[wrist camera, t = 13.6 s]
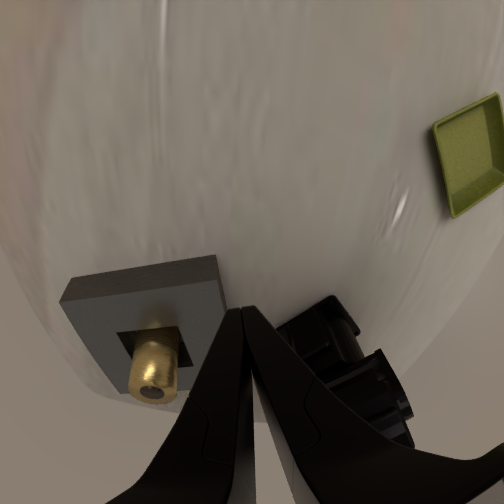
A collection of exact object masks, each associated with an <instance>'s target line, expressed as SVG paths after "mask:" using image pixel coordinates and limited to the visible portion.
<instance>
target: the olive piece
mask: <svg viewBox="0 0 504 504" xmlns="http://www.w3.org/2000/svg"><path fill="white" fill-rule="evenodd" d="M432 131H433V135H434V139H435V142H436V146H437V150H438V155H439V159H440V163H441V168H442V173H443V178H444V183H445V189H446V194H447V201H448V206H449V210H450V214H451V217H452V218H456V217H458V216H460V215H461V214H463V213H465V212H466V211H467V210H469V209H470V208H471V207H473V206H474V205H476V204H477V203H478V202H480V201H481V200H483V199H484V198H486V197H487V196H488V195H490V194H491V193H493V192H494V191H496V190H497V189H498V188H500V187H501V186H502V185H504V115H503V109H502V104H501V99H500V95H499V94H498V93H497V92H495V93H493V94H491V95H489V96H487V97H485V98H483V99H481V100H479V101H477V102H475V103H473V104H471V105H469V106H467V107H465V108H463V109H461V110H459V111H457V112H455V113H453V114H451V115H449V116H447V117H445V118H443V119H441V120H439V121H437V122H435V123H434V124H433V126H432Z"/></svg>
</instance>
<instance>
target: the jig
mask: <svg viewBox="0 0 504 504" xmlns="http://www.w3.org/2000/svg"><path fill="white" fill-rule="evenodd" d="M59 303H60V305H61V307H62V309H63V310H64V312H65V314H66V315H67V317H68V319H69V320H70V322H71V324H72V325H73V327H74V329H75V330H76V332H77V333H78V335H79V337H80V338H81V340H82V341H83V343H84V344H85V346H86V347H87V349H88V350H89V352H90V353H91V355H92V356H93V358H94V359H95V361H96V362H97V363H98V365H99V366H100V368H101V369H102V370H103V372H104V373H105V375H106V376H107V377H108V379H109V380H110V381H111V383H112V384H113V385H114V387H115V388H116V389H117V390H118V392H119V393H120V394H123V393H129V391H128V384H129V377H130V371H131V365H132V359H133V354H134V348H135V343H136V337H137V334H136V332H135V330H143V329H152V328H161V327H169V326H177V325H178V327H179V330H180V333H181V335H182V338H183V340H184V341H183V342H179V347H178V368H177V391H179V390H190V389H191V388H192V386H193V384H194V382H195V379H196V377H197V375H198V373H199V370H200V368H201V366H202V364H203V362H204V359H205V357H206V355H207V353H208V350H209V348H210V346H211V344H212V341H213V339H214V337H215V335H216V332H217V330H218V328H219V326H220V324H221V321H222V319H223V317H224V315H225V312H226V311H227V306H226V302H225V297H224V293H223V288H222V283H221V279H220V274H219V269H218V264H217V260H216V255H210V256H204V257H198V258H191V259H185V260H179V261H173V262H167V263H161V264H154V265H148V266H142V267H136V268H130V269H124V270H118V271H111V272H105V273H99V274H93V275H87V276H81V277H75V278H71V280H70V282H69V284H68V285H67V287H66V289H65V291H64V293H63V295H62V297H61V299H60V301H59Z"/></svg>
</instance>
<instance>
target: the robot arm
mask: <svg viewBox="0 0 504 504" xmlns="http://www.w3.org/2000/svg"><path fill="white" fill-rule="evenodd" d="M331 301H332V302H331ZM359 334H360V329H359V327H358V326H357V325H356V323H355V322H354V321H353V319H352V318H351V316H350V315H349V314H348V312H347V311H346V310H345V308H344V307H343V305H342V304H341V303H340V301H339V300H338V299H337V297H336V296H334V295H331V296H329V297H327V298H326V299H324V300H322V301H321V302H319V303H318V304H316V305H314V306H313V307H311V308H310V309H308V310H306V311H305V312H303V313H302V314H300V315H298V316H297V317H295V318H293V319H292V320H290V321H288V322H287V323H285V324H283V325H282V326H280V327H278V328H277V329H275V328H274V327H273V326H272V325H271V324H270V322H269V321H268V320H267V319H266V318H265V317H264V316H263V314H262V313H261V312H260V311H259V310H258V309H257V307H256V306H254V305H251V306H245V307H242V308H241V309H240V308H233V309H228V310H227V311H226V312H225V315H224V317H223V319H222V321H221V324H220V326H219V328H218V330H217V332H216V335H215V337H214V339H213V341H212V344H211V346H210V348H209V350H208V353H207V355H206V357H205V359H204V362H203V364H202V366H201V368H200V370H199V373H198V375H197V377H196V379H195V382H194V384H193V386H192V388H191V391H190V393H189V395H188V396H189V397H187V399H186V402H185V404H184V406H183V408H182V410H181V412H180V414H179V416H178V418H177V420H176V423H175V424H174V426H173V428H172V429H171V431H170V433H169V434H168V436H167V438H166V440H165V441H164V443H163V444H162V446H161V447H160V449H159V450H158V452H157V454H156V455H155V457H154V458H153V460H152V461H151V463H150V465H149V466H148V468H147V469H146V471H145V472H144V474H143V475H142V476H141V478H140V479H139V480H138V481H137V482H136V483H135V484H134V485H133V486H131V487H130V488H129V489H128V490H126V491H124V492H123V493H121V494H120V495H118V496H117V497H115V498H113V499H112V500H110V501H109V502H107V503H106V504H256V487H255V455H254V454H255V452H254V420H253V386H252V375H253V379H254V382H255V385H256V389H257V392H258V395H259V398H260V401H261V404H262V407H263V410H264V413H265V416H266V419H267V423H268V425H269V428H270V432H271V435H272V437H273V440H274V443H275V446H276V449H277V452H278V455H279V458H280V461H281V464H282V467H283V470H284V472H285V475H286V478H287V481H288V484H289V486H290V489H291V492H292V494H293V498H294V500H295V503H296V504H504V443H501V444H500V445H498V446H497V447H495V448H494V449H492V450H491V451H489V452H488V453H486V454H485V455H483V456H482V457H480V458H476V459H472V460H459V459H453V458H449V457H444V456H440V455H436V454H432V453H428V452H424V451H420V450H417V449H415V445H414V441H413V439H412V437H411V434H410V431H409V429H408V427H407V424H406V422H405V421H406V420H409V419H411V418H412V417H414V415H413V412H412V409H411V406H410V403H409V401H408V399H407V397H406V394H405V392H404V390H403V388H402V386H401V384H400V382H399V380H398V378H397V376H396V375H395V373H394V371H393V369H392V367H391V366H390V364H389V362H388V360H387V359H386V357H385V355H384V354H383V352H382V350H381V348H380V349H378V350H376V351H374V352H375V353H373V354H371V355H369V356H367V357H365V356H364V354H363V352H362V350H361V348H360V346H359V344H358V342H357V340H356V338H355V337H356V336H358V335H359ZM251 370H252V372H251Z"/></svg>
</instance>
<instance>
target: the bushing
mask: <svg viewBox="0 0 504 504" xmlns="http://www.w3.org/2000/svg"><path fill="white" fill-rule="evenodd" d="M179 331H180V330H179V327H178V325H177V326H169V327H161V328H152V329H143V330H138V332H137V337H136V343H135V348H134V354H133V359H132V365H131V371H130V377H129V384H128V391H129V393H130V394H131V395H132V396H133V397H134V398H136V399H138V400H140V401H142V402H145V403H149V404H166V403H169V402H171V401H173V400H174V399H175V398H176V395H177V368H178V347H179Z"/></svg>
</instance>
